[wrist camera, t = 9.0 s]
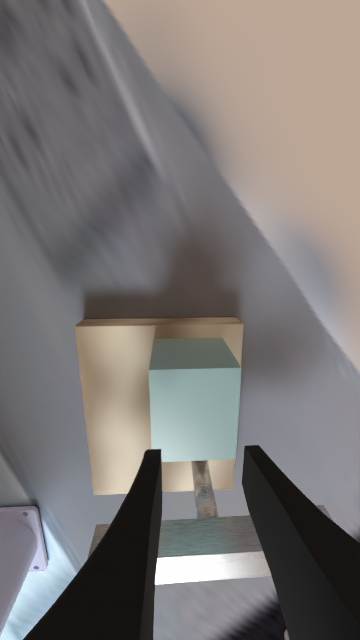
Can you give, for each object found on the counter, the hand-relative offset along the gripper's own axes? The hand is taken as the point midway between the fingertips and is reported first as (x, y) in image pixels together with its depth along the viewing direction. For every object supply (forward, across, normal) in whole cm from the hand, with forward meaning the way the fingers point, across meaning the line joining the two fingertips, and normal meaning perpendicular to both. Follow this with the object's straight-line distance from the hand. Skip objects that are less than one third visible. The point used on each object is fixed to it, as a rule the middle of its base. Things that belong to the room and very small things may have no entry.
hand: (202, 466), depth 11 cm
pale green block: (+8, 0, 0) cm, 8 cm away
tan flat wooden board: (+10, +2, +4) cm, 11 cm away
